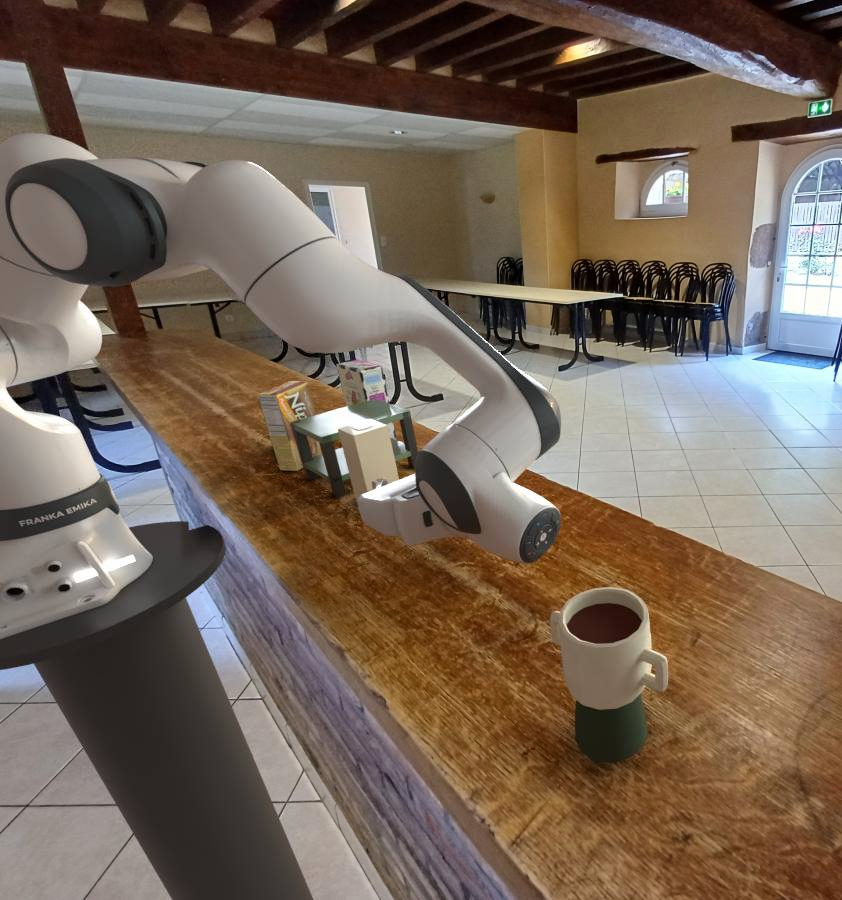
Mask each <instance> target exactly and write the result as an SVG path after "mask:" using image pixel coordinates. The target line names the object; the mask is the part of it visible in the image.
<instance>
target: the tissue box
mask: <svg viewBox="0 0 842 900" xmlns="http://www.w3.org/2000/svg"><path fill="white" fill-rule="evenodd" d="M338 432H339V436H340V439H339V440H340V443H341V448H343V451H344V455H345V459H346V463H347V467H348V471H349V475H350V478H349V480H350V483H351V487H352V491H353V494H354V498H355V501H356V503H357V500H358V498H359V496H360V495H361V494H363V493H366V492H369V491H371V490H373V487H372V481H374V480H377V479H380V478H383V479H385V480H387V483H388V484H389V483H392V482H394V481H397V480H399V479H400V477H399V473H398V468H397V465H396V464H397V463H396V462H395V458H394V453H393V449H392V444H391V440H390V435H389V431H388V426H387V425H386V424H383V423H380V422H378V421H375V420H372V419H368V420H365V421H362V422H358V423H355V424H352V425H348V426H345V427H342V428H338Z"/></svg>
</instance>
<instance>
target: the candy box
mask: <svg viewBox="0 0 842 900" xmlns="http://www.w3.org/2000/svg"><path fill="white" fill-rule="evenodd" d="M310 391H311V390H310V387H309V383H308V381H303V380H290V381H286V382H285V383H282V384H280V385H277V386H275V387H273V388H270V389H268V390H265V391H263V392H261V393H258V394H257V397H258V398H259V400H260V403H259V405H260V404H261V406H260V408H261V407H262V410H263V413H262V415H263V414H264V416H263V418H264V417H265V420H264V422H265V421H266V423H265V425H266V424H267V427H268V430H269V433H268V435H269V434H270V437H271V440H270V442H271V441H272V443H271V445H272V444H273V446H272V448H273V450H274V455H275V457H276V460H277V464H278V467H279V470H280V471H285V472H286V471H287V472H288V471H291V472H298V471H300V470H301V469H304V468H303V465H302V462H301V458H300V455H299V451H298V448H297V444H296V441H295V437H294V434H293V430H292V427H291V424H290V422H293V421H296V420H300V419H304V418H307V417H311V416H314V415H317V414H316V411H315V406H314V403H313V399H312V395H311V392H310ZM259 400H258V401H259ZM262 410H261V411H262ZM267 427H266V428H267ZM268 430H267V431H268ZM270 437H269V438H270ZM307 438H308V442H309V446H310V449H311V453H312V456H313V457H315V456H318V455H321V454H322V451H321V448H320V444H319V442H318V441H316V440H314V439H312V438H310V437H308V436H307Z"/></svg>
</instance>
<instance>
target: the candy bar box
mask: <svg viewBox="0 0 842 900" xmlns="http://www.w3.org/2000/svg"><path fill="white" fill-rule="evenodd" d="M335 366H336V370H337V373H338V378H339V381H340V382H339V383H340V386H341V391H342V394H343V399H344V403H345V407H347V406H351V405H354V404H358V403H361V402H365V401H369V400H372V399H377V400H380V401H383V402H386V403H389V404H390V399H389V394H388V389H387V385H386V379H385V374H384V369H383V365H380V364H376V363H371V362H368V361H364V360H359V359H355V360H354V359H353V360H349V361H344V362H340V363H337V364H335ZM394 423H395V422H392V423H389V424H386V425H387V426H388V431H389V435H390V437H391V438H393V439H395V440H398V438H397V433H396V428H395V424H394Z"/></svg>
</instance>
